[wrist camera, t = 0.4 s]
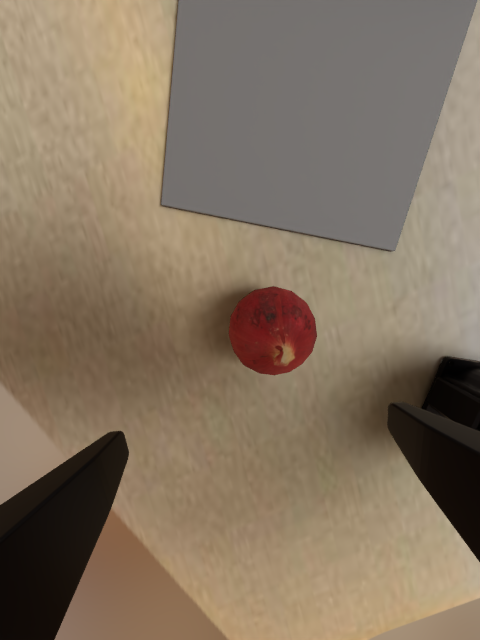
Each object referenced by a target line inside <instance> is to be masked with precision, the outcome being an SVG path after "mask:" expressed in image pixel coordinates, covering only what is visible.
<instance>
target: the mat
mask: <svg viewBox="0 0 480 640" xmlns="http://www.w3.org/2000/svg"><path fill="white" fill-rule="evenodd" d="M476 3H477V0H179V3H178V15H177V26H176V38H175V50H174V61H173V73H172V85H171V96H170V108H169V120H168V131H167V143H166V154H165V166H164V178H163V189H162V201H161V205H162V206H166V207H171V208H176V209H181V210H186V211H191V212H196V213H201V214H206V215H211V216H216V217H221V218H226V219H231V220H236V221H241V222H246V223H251V224H257V225H262V226H267V227H272V228H277V229H282V230H287V231H292V232H297V233H302V234H307V235H312V236H317V237H322V238H327V239H332V240H337V241H342V242H347V243H352V244H357V245H363V246H368V247H373V248H378V249H383V250H388V251H395V250H396V246H397V243H398V240H399V237H400V234H401V231H402V228H403V225H404V222H405V219H406V216H407V213H408V210H409V207H410V204H411V201H412V198H413V195H414V192H415V189H416V186H417V182H418V179H419V176H420V173H421V170H422V167H423V164H424V161H425V158H426V155H427V152H428V149H429V146H430V143H431V140H432V137H433V134H434V131H435V128H436V125H437V122H438V119H439V115H440V112H441V109H442V106H443V103H444V100H445V97H446V94H447V91H448V88H449V85H450V82H451V79H452V76H453V73H454V70H455V67H456V64H457V61H458V58H459V55H460V51H461V48H462V45H463V42H464V39H465V36H466V33H467V30H468V27H469V24H470V21H471V18H472V15H473V12H474V9H475V6H476Z"/></svg>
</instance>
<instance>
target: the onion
mask: <svg viewBox="0 0 480 640" xmlns="http://www.w3.org/2000/svg"><path fill="white" fill-rule="evenodd" d="M229 337H230V340H231V344H232V347H233V350H234V352H235V354H236V355H237V357H238V358H239V359H240V361H241V362H242V364H243V365H245V366H246V367H248V368H250V369H252V370H254V371H256V372H258V373H261V374H270V375H277V374H282V373H287V372H290V371H292V370H293V369H295V368H297V367H298V366H300V365H301V364H303V362H304V361H305V360H306V359H307V357H308V356H309V355H310V354H311V353H312V351H313V348H314V344H315V341H316V338H317V332H316V324H315V318H314V316H313V314H312V312H311V310H310V308H309V306H308V304H307V303H306V302H305V301H304V300H302V299H301V298H300V297H299V296H297V295H296V294H295V293H293V292H292V291H289V290H285V289H281V288H278V287H268V288H263V289H258V290H254V291H253V292H251V293H250V294H248V295H247V296H246V297H244V298H243V299H242V300H240V301H239V303H238V304H237V306H236V308H235V310H234V312H233V313H232V315H231V319H230V327H229Z"/></svg>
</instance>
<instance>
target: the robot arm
mask: <svg viewBox="0 0 480 640" xmlns="http://www.w3.org/2000/svg"><path fill="white" fill-rule="evenodd" d="M449 362H450V363H449ZM387 425H388V429H389V431H390V433H391V435H392V436H393V438H394V440H395V441H396V443H397V445H398V446H399V448H400V449H401V451H402V453H403V454H404V456H405V458H406V459H407V461H408V463H409V464H410V466H411V467H412V469H413V471H414V472H415V474H416V475H417V477H418V478H419V480H420V481H421V483H422V484H423V485H424V487H425V488H426V490H427V491H428V492H429V494H430V495H431V496H432V498H433V499H434V501H435V502H436V503H437V505H438V506H439V507H440V509H441V510H442V511H443V513H444V514H445V515H446V517H447V518H448V520H449V521H450V522H451V524H452V525H453V526H454V528H455V529H456V530H457V532H458V533H459V535H460V536H461V537H462V539H463V540H464V541H465V543H466V544H467V545H468V547H469V548H470V549H471V551H472V552H473V554H474V555H475V556H476V558H477V559H478V560H479V562H480V361H474V360H468V359H461V358H455V357H445V358H444V359H443V361H442V363H441V365H440V368H439V370H438V372H437V375H436V377H435V379H434V382H433V384H432V386H431V389H430V391H429V394H428V396H427V398H426V401H425V403H424V405H423V408H422V409H420V408H418V407H415V406H413V405H410V404H408V403H405V402H393V403H390V404H389V406H388V420H387ZM128 456H129V450H128V446H127V443H126V439H125V435H124V433H123V432H122V431H113V432H109V433H107V434H106V435H104V436H103V437H101V438H100V439H98V440H97V441H95V442H94V443H92V444H91V445H89V446H88V447H86V448H85V449H83V450H82V451H80V452H79V453H77V454H76V455H74V456H73V457H71V458H70V459H68V460H67V461H65V462H64V463H63V464H61V465H59V466H58V467H57V468H55V469H53V470H52V471H51V472H49V473H47V474H46V475H44V476H43V477H42V478H40V479H39V480H37V481H36V482H34V483H33V484H31V485H30V486H28V487H27V488H25V489H24V490H22V491H21V492H19V493H18V494H16V495H15V496H13V497H12V498H10V499H9V500H7V501H6V502H4V503H3V504H1V505H0V640H54V639H55V637H56V635H57V632H58V630H59V628H60V626H61V623H62V621H63V619H64V616H65V614H66V612H67V609H68V607H69V604H70V602H71V600H72V598H73V595H74V593H75V591H76V589H77V586H78V584H79V582H80V579H81V577H82V575H83V572H84V570H85V568H86V565H87V563H88V561H89V559H90V556H91V554H92V552H93V549H94V547H95V545H96V542H97V540H98V538H99V536H100V533H101V531H102V528H103V526H104V524H105V522H106V519H107V517H108V515H109V512H110V510H111V507H112V504H113V502H114V499H115V496H116V493H117V490H118V487H119V484H120V481H121V478H122V475H123V472H124V469H125V466H126V463H127V460H128Z"/></svg>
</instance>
